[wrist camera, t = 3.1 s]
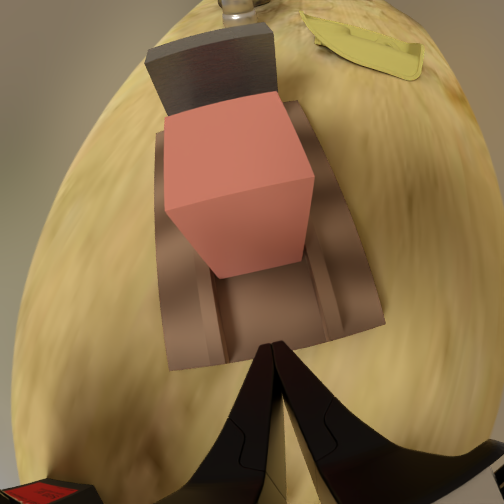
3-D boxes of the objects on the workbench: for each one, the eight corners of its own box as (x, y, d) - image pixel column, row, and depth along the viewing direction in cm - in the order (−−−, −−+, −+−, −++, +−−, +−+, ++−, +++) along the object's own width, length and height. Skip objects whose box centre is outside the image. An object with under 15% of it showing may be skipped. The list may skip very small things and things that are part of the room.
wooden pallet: (379, 326, 19) (394, 321, 16) (176, 370, 19) (159, 371, 16) (297, 110, 28) (297, 88, 25) (160, 141, 28) (150, 122, 25)
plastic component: (409, 44, 31) (427, 44, 24) (402, 78, 36) (419, 85, 29) (302, 16, 33) (297, 8, 26) (297, 50, 38) (291, 50, 31)
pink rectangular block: (301, 261, 19) (314, 176, 10) (219, 279, 20) (164, 211, 10) (281, 192, 22) (276, 90, 12) (208, 208, 22) (164, 117, 13)
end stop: (279, 124, 25) (273, 32, 15) (182, 146, 25) (144, 63, 16) (272, 107, 26) (264, 22, 16) (181, 128, 26) (148, 49, 17)
